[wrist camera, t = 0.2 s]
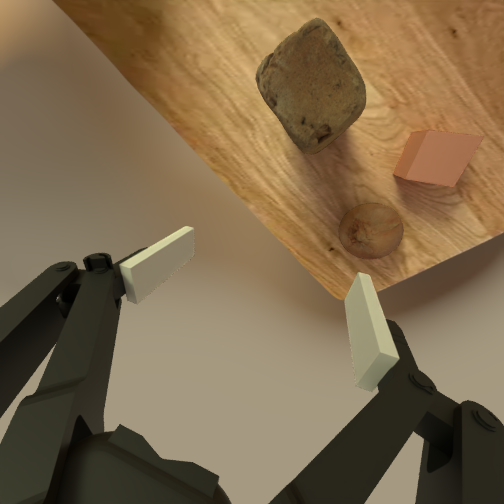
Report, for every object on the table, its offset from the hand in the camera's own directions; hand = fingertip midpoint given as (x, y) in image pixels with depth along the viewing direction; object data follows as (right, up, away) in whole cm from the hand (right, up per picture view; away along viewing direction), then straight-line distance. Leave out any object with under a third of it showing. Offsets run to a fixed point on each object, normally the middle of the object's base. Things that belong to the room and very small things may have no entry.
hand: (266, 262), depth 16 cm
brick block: (+25, +16, +16) cm, 34 cm away
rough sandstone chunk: (+9, +24, +17) cm, 31 cm away
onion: (+20, +6, +22) cm, 31 cm away
